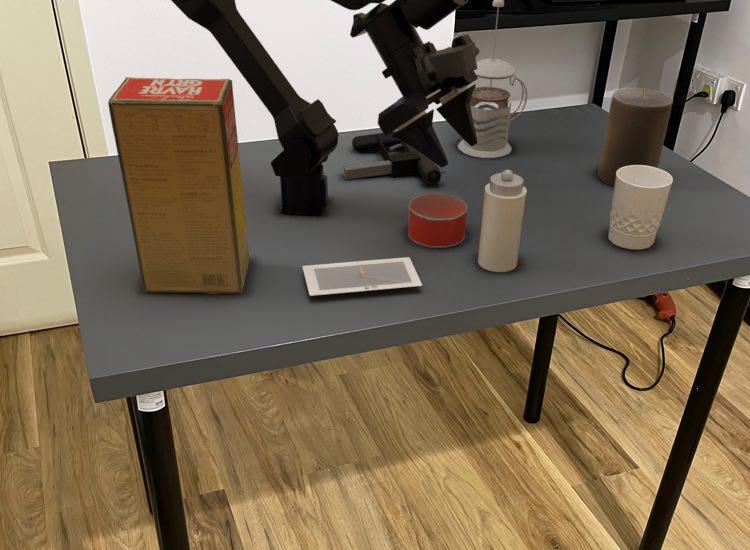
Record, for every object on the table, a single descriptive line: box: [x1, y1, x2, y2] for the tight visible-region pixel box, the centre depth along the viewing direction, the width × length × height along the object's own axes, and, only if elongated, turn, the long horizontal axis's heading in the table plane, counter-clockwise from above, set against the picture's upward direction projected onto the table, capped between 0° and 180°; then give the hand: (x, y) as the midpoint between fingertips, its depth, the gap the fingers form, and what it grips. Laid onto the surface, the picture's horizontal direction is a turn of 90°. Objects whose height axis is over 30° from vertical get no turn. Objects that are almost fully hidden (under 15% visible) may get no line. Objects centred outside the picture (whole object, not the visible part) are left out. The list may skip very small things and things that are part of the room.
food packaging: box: [107, 77, 251, 295], centre depth 105 cm, size 13×9×25 cm
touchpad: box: [301, 256, 423, 297], centre depth 111 cm, size 8×15×2 cm, turn 102°
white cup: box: [607, 165, 674, 251], centre depth 121 cm, size 8×8×10 cm
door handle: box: [343, 130, 446, 185], centre depth 142 cm, size 3×20×16 cm
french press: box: [457, 0, 528, 159], centre depth 143 cm, size 10×12×25 cm
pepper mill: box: [477, 169, 528, 273], centre depth 113 cm, size 6×6×14 cm
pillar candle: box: [597, 87, 674, 187], centre depth 137 cm, size 10×10×15 cm
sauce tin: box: [407, 193, 468, 249], centre depth 122 cm, size 8×8×5 cm
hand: (460, 155), depth 113 cm, fingers open, 9 cm apart
